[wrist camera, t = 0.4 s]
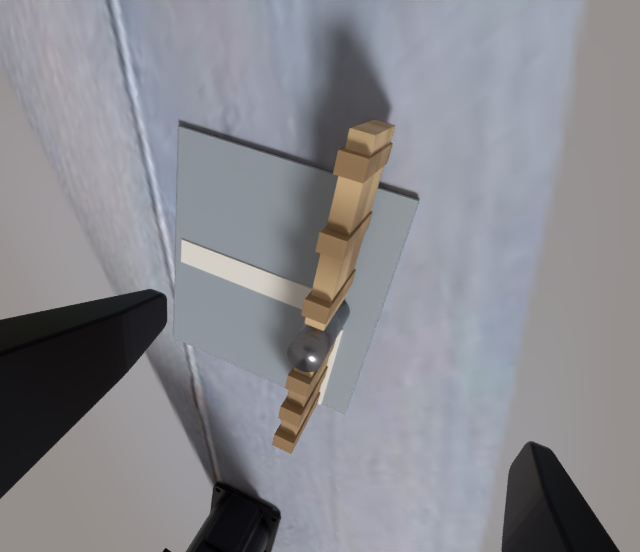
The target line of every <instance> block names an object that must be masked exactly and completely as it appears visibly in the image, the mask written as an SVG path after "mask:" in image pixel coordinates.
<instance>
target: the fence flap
mask: <svg viewBox="0 0 640 552" xmlns="http://www.w3.org/2000/svg"><path fill="white" fill-rule="evenodd" d="M395 126H396V125H392V124H388V123H385V122H381V121H377V120H371V121H368V122H365V123H362V124H360V125H357V126H354V127H351V128H349V133H348V137H347V141H346V146H345V147H343V148H341V149H339V150H338V153H337V157H336V162H335V166H334V171H333V174H334V175H337V176H338V180H337V185H336V189H335V193H334V198H333V202H332V206H331V210H330V215H329V219H328V223H327V226H326V227H325V228H324V229H323V230H322V231H320V233H319V238H318V242H317V247H316V251H315V252H318V253H320V258H319V262H318V267H317V271H316V275H315V280H314V284H313V288H312V291H311V292H310V293H309V295H308V296H307V297H306V298H305V300H304V305H303V309H302V314H301V315H302V316H305V317H306V318H305V324H307V325H310V326H312V327H315V328H317V329H320V330H322V331H324V330H325V328H326V327H327V325H328V324H329V322H330V320H331V319H332V317H333V316H334V314H335V313H336V311H337V310H338V308H339V306H340V305H341V303H342V302H343V300H344V299H345V297H346V296H347V293H348V290H349V288H350V286H351V285H352V282H353V279H354V276H355V272H356V269H355V265H356V262H357V258H358V255H359V251H360V248H361V244H362V241H363V237H364V234H365V232H366V231H367V229H368V227H369V224H370V220H371V217H372V213H373V212H372V211H371V209H372V206H373V202H374V199H375V196H376V192H377V189H378V185H379V182H380V178H381V175H382V171H383V168H384V165H386V164H387V162H388V158H389V155H390V151H391V148H392V144H393V143H391V140H392V136H393V133H394V129H395Z"/></svg>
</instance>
